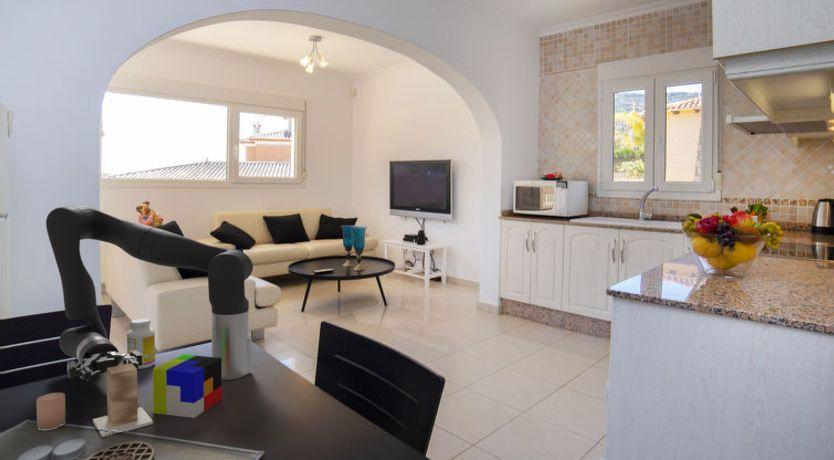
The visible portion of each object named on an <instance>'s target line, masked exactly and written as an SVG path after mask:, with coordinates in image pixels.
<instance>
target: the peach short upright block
mask: <svg viewBox="0 0 834 460" xmlns="http://www.w3.org/2000/svg"><path fill="white" fill-rule="evenodd" d="M66 423H67V422H66V394H65V393H63V392H51V393H47V394H44V395H41V396H39V397H37V398H36V424H37V425H36V426H37V427H38V428H40V429H51V428H54V427H56V426H58V425H60V424H65V425H66ZM37 427H36V428H37Z"/></svg>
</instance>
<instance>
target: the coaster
mask: <svg viewBox="0 0 834 460" xmlns="http://www.w3.org/2000/svg"><path fill="white" fill-rule="evenodd" d="M137 410H138V421H134V422H131V423H127V424H123V425H119V426H115V427H112V426H111V424H110V423H109V421H108V414H107V415H104V416H99V417H97V418H92V423H93V425H94V426H95V428H96V427H97V428H101V429H108V430H117V431H125V432H129V431H133V430H135V429H140V428H143V427H146V426H150V425H153V423H154V420H153V419H152V418H151V416H149V415H148V414H147V412H146V411H145V410H144V408H143V407H142V406H139V407H137ZM97 428H96V429H97ZM100 433H101V435H102V436H103V435H106V434H110V433H112V431H108V432H105V431H100ZM101 435H100V436H101Z"/></svg>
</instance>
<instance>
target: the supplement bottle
mask: <svg viewBox="0 0 834 460" xmlns="http://www.w3.org/2000/svg"><path fill="white" fill-rule="evenodd" d="M130 326H131V329H130V330H129V331H128V332H127V334H126V341H127V343H126V344H127V345H126V347H127V348H126V349H127V351H126V354H129V352H130V350H136V351H138V352H139V353H141V354H142V355H143V357H142V362H143V365H141V366H138V367H139V369H138V370H140V369H141V370H142V369H148V368H150V367H152V366H153V365H155V363H156V349H155V348H156V340H155V339H156V338H155V330H154V328H153V327H150V326H151V318H137V319H133V320H131V321H130ZM127 364H129V360H127Z"/></svg>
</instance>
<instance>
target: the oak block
mask: <svg viewBox="0 0 834 460" xmlns="http://www.w3.org/2000/svg"><path fill="white" fill-rule="evenodd" d="M119 365H120V364H119ZM106 395H107V397H106V398H107V399H106V403H107V407H106V408H107V409H106V410H107V415H108V421H109V423H110V424H111V426H112V427H115V426H119V425H123V424H127V423H131V422H134V421H138V410H137V408H138V369H137V368H136V367H135V366H134V365H133V364H132V363H130V364H128V363H127V364H125V365H120V366H115V367H109V368H107V372H106Z"/></svg>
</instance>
